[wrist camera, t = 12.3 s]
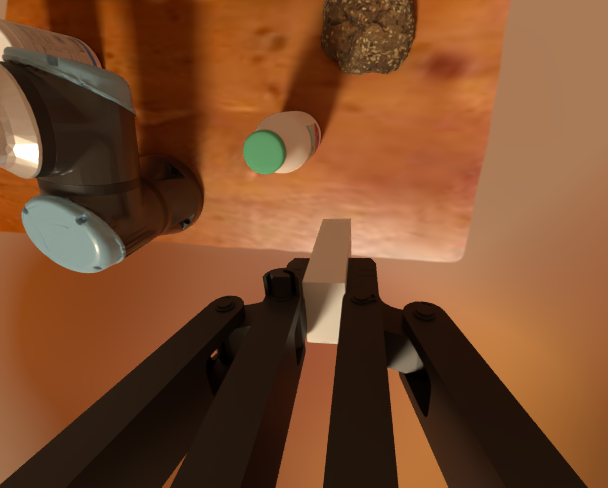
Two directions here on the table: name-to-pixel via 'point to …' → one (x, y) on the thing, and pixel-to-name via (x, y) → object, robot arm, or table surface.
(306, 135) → the milk bottle
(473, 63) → the table surface
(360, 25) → the speckled stone
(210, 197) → the table surface
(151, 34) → the table surface
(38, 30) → the supplement tub
